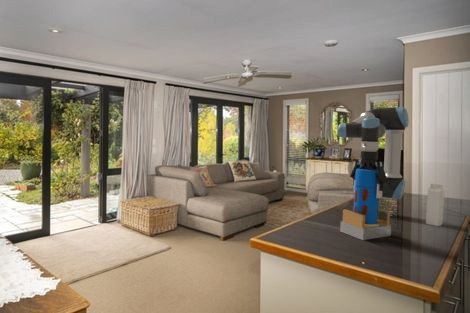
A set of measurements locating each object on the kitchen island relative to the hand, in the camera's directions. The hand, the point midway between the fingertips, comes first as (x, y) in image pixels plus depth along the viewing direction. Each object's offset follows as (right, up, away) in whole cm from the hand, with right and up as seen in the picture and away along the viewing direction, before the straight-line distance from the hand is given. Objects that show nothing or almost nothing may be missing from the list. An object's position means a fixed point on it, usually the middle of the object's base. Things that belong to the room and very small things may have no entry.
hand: (367, 195), depth 150 cm
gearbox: (-1, -19, +1) cm, 19 cm away
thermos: (-1, -13, +1) cm, 13 cm away
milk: (+46, -19, +22) cm, 54 cm away
